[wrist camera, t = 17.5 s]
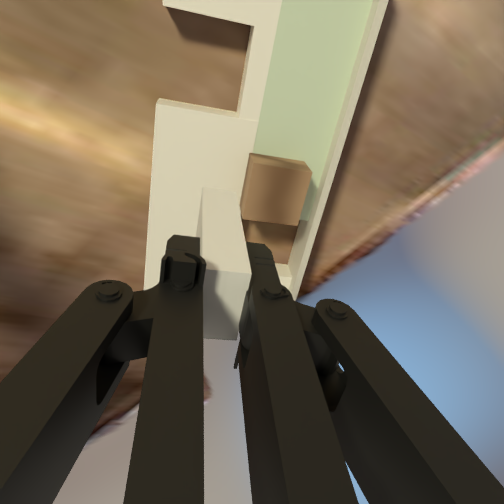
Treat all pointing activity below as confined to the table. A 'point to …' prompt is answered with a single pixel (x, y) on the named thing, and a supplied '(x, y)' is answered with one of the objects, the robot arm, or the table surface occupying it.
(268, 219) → the block
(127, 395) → the table surface
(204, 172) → the tray
